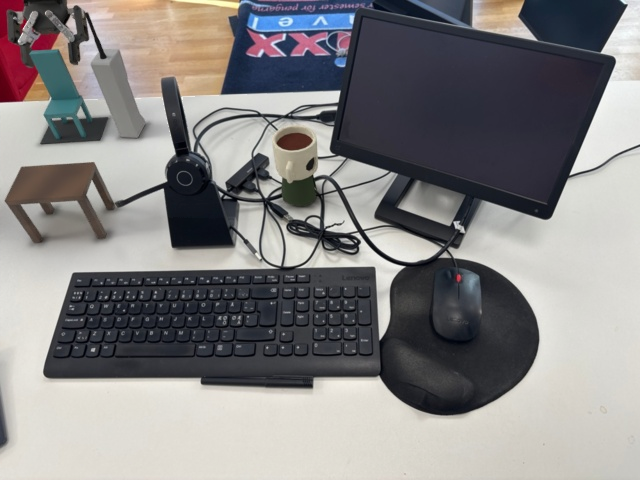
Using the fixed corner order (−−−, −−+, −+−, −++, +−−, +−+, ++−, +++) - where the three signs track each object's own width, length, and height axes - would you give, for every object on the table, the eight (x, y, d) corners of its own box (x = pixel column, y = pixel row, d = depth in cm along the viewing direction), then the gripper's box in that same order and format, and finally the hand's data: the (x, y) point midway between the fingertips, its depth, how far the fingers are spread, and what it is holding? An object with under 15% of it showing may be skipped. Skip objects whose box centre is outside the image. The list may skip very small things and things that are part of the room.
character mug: (313, 221, 88) (309, 162, 78) (273, 216, 89) (264, 158, 79) (324, 177, 95) (322, 118, 85) (287, 174, 96) (280, 115, 86)
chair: (92, 119, 109) (61, 48, 97) (85, 137, 105) (51, 66, 93) (64, 121, 109) (28, 50, 97) (56, 139, 105) (18, 68, 93)
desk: (33, 243, 87) (4, 200, 80) (47, 209, 92) (21, 166, 85) (105, 238, 87) (82, 195, 80) (115, 204, 92) (94, 161, 85)
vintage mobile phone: (146, 123, 108) (103, 3, 89) (138, 138, 105) (92, 17, 86) (129, 123, 108) (82, 3, 89) (120, 138, 105) (70, 17, 86)
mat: (40, 144, 105) (40, 143, 105) (51, 121, 110) (51, 120, 110) (100, 140, 105) (99, 139, 105) (108, 118, 110) (107, 116, 110)
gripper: (-8, -29, 94) (2, 62, 95) (71, -34, 94) (80, 57, 95) (16, -12, 101) (25, 72, 103) (89, -17, 101) (97, 68, 103)
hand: (51, 65), depth 99 cm, fingers open, 8 cm apart
